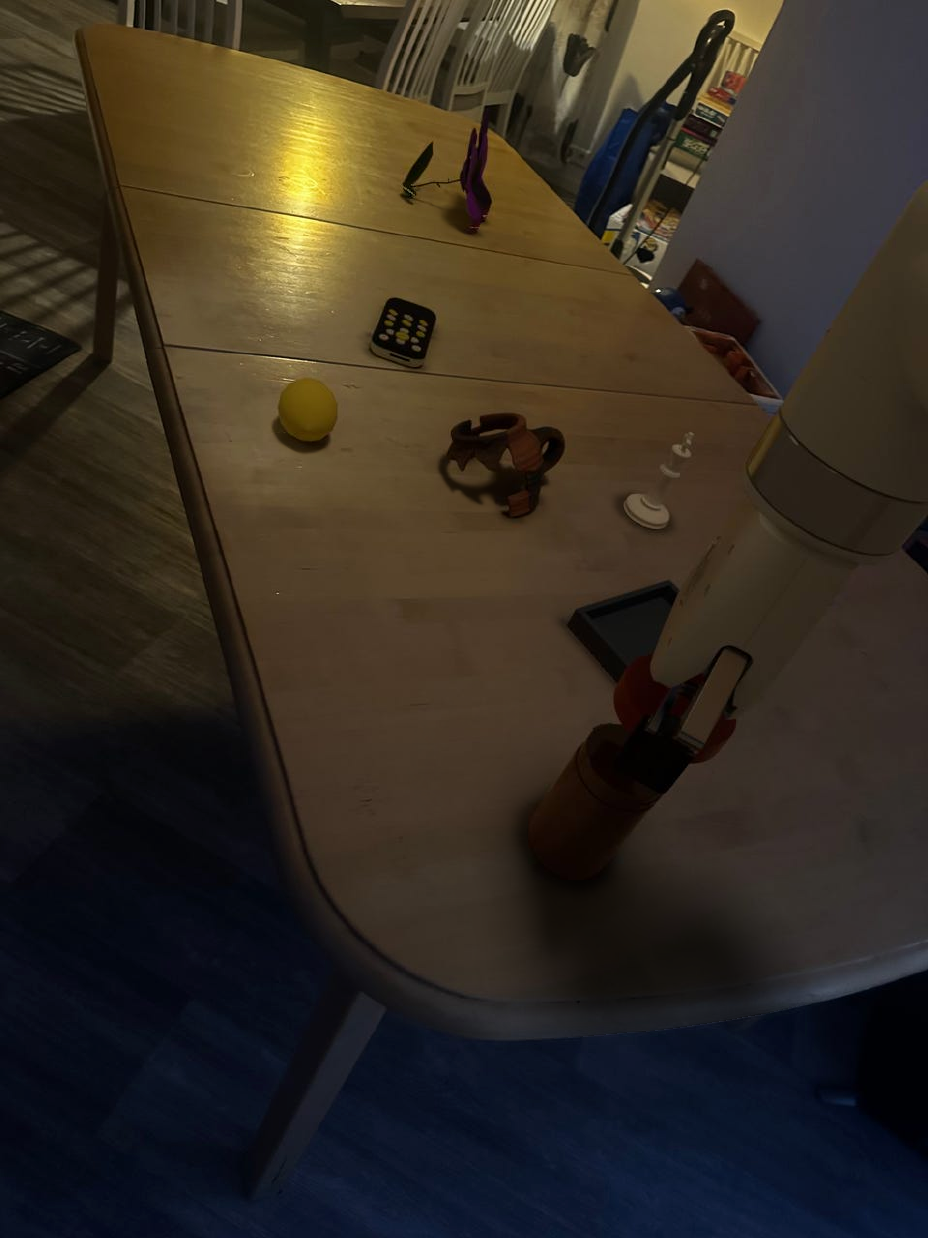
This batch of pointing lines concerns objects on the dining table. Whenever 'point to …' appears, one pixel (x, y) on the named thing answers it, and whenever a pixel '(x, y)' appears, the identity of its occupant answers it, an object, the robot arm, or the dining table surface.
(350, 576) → the dining table surface
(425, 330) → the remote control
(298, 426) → the lemon
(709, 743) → the jar lid
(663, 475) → the chess piece
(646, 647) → the tray
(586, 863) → the jar
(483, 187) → the flower
